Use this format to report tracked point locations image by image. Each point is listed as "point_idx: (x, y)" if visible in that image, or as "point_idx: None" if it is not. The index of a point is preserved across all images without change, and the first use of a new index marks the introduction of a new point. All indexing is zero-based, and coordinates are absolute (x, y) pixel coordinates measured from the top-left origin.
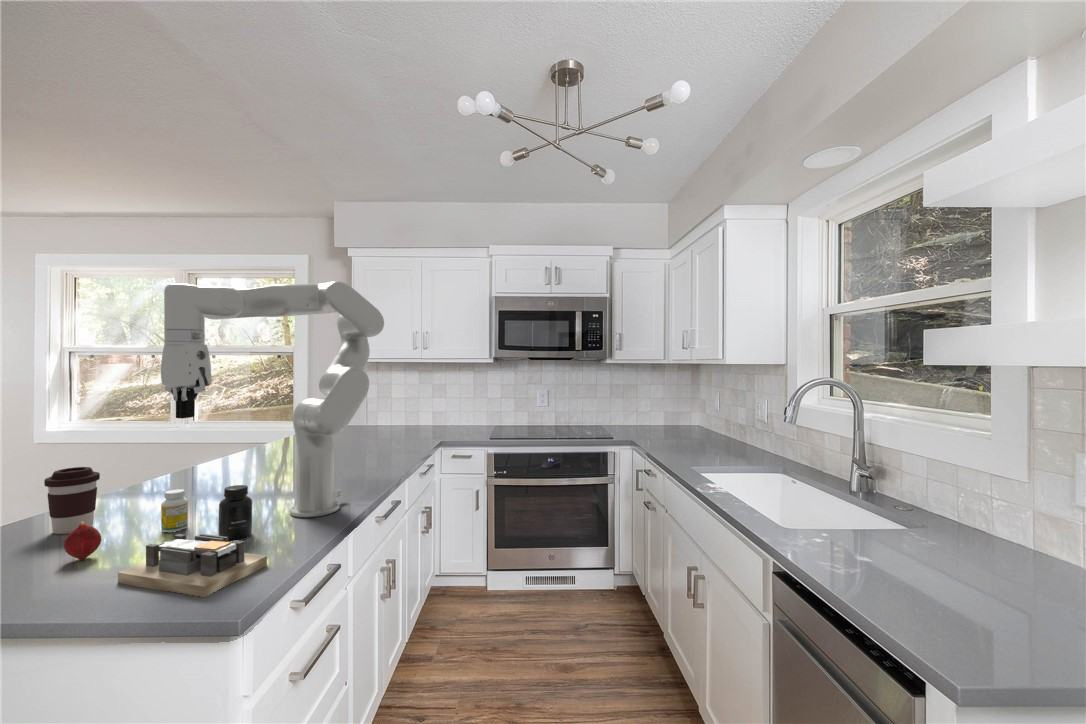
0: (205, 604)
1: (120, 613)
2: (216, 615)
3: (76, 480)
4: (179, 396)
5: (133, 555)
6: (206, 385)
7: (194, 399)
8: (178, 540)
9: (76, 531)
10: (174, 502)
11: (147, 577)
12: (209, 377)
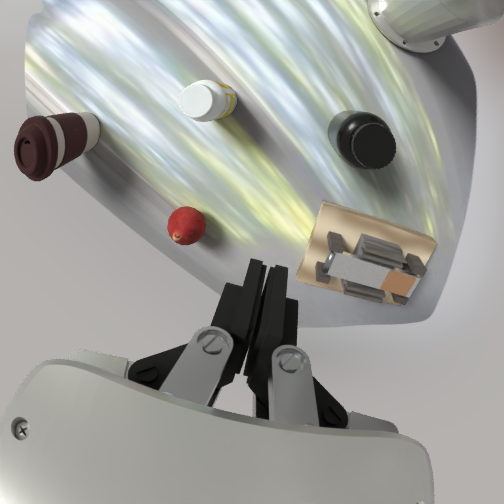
0: (402, 307)
1: (343, 319)
2: (415, 319)
3: (51, 164)
4: (218, 387)
5: (246, 202)
6: (391, 442)
7: (300, 358)
8: (342, 258)
9: (181, 243)
10: (214, 115)
11: (337, 290)
12: (423, 500)
